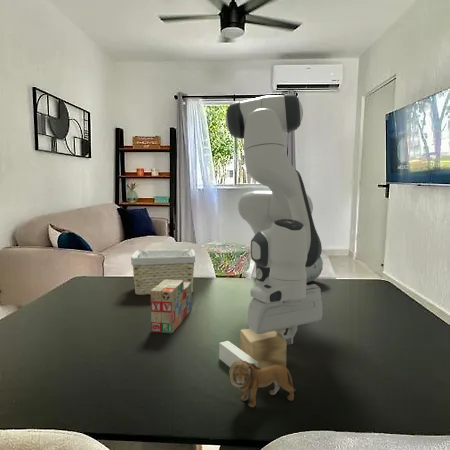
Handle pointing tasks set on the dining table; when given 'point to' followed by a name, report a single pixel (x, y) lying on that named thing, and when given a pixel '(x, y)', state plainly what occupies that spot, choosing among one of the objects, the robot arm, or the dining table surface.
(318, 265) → the puzzle ball
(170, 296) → the stack of blocks
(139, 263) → the storage basket
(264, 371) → the lion figurine
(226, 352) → the fence board
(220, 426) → the dining table surface
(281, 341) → the oak block
